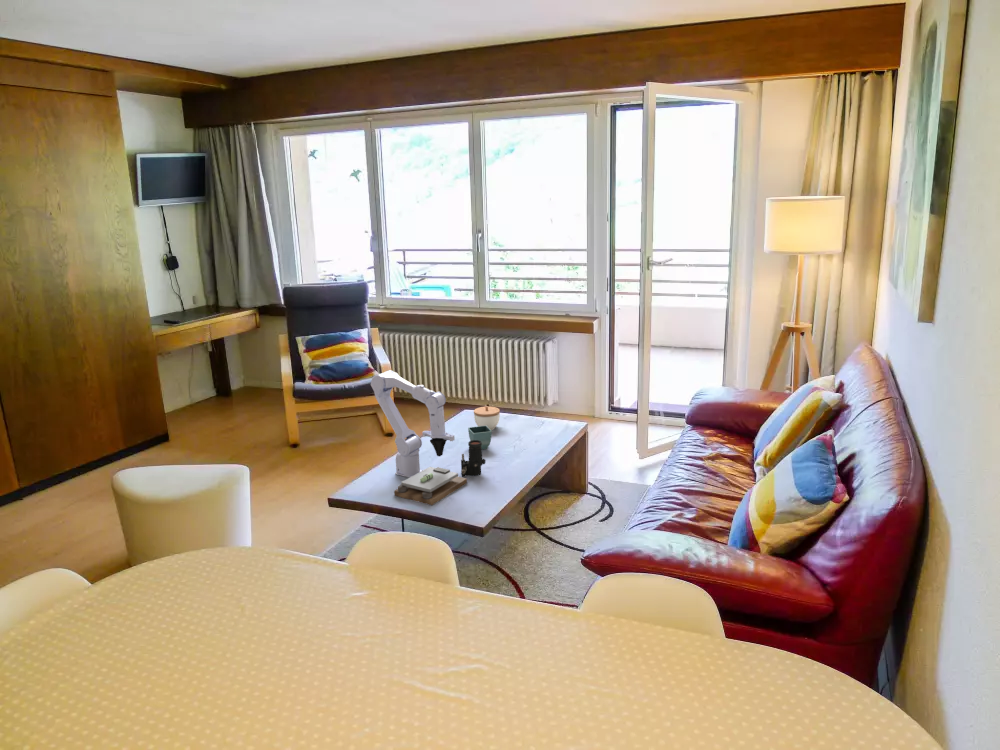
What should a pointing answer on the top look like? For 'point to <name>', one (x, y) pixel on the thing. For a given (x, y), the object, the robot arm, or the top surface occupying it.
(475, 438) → the flower pot
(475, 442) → the scope
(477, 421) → the lidded bowl
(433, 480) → the level plate
